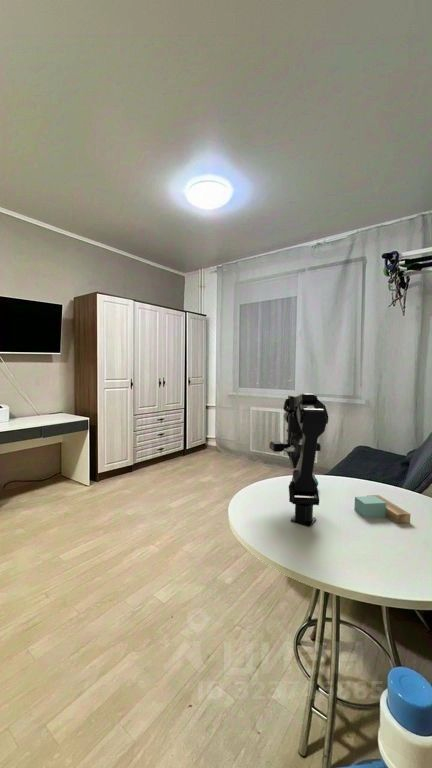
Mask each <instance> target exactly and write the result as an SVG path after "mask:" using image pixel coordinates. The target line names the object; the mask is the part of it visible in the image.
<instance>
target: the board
mask: <svg viewBox="0 0 432 768" xmlns="http://www.w3.org/2000/svg"><path fill="white" fill-rule="evenodd" d="M367 496H376V497H378V498H379V499H381V500H383V501H384V502H386V517H385V518H388V519H389V520H391V522H394V524H396V525H397V524H410V523H411V513H409V512H408V511H406V510H405V509H403V508H401V507H400V506H398V505H396V504H395V503H393V502H391V501H389V500H388V499H387V498H385V497H383V496H381V495H379V494H374V495H370V494H369V495H367Z"/></svg>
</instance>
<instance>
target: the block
mask: <svg viewBox="0 0 432 768" xmlns="http://www.w3.org/2000/svg"><path fill="white" fill-rule="evenodd" d="M353 509H354V511H355V512H357V514H359V515H360V516H361V517H363V518H364V519H365V518H387V517H386V502H384V501H383V500H381V499H379V498H378V497H376V496H368V495H364V496H355V497H354V508H353Z"/></svg>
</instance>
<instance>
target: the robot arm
mask: <svg viewBox="0 0 432 768" xmlns="http://www.w3.org/2000/svg"><path fill="white" fill-rule="evenodd" d="M308 407H313V408H308ZM282 408H283V409H282V410H283V411H284V412H285V413H284V415H283V419H284V421H285V422H286V423H287V428H286V433H287V439H286V441H285V443H283V442H281V441H279V440H277V441H276V440H272V441H270V442H269V446H268V448H269V449H270V450H271V451H272V452H273V453H274V452H275V453H278V452H286V454H287V455H288V458H289V461H290V463H291V466H292V469H293V471H292V477H291V481H290V482H289V485H288V494H289V495H288V497H289V502H290V503H291V504H292V505H294V516H293V517H291V518H290V521H291V522H294V523H296V524H299V525H303V526H306V527H311V526H312V525H313V523H315V522H316V521H317V518H316V517H314V516H313V514H314V511H313V510H314V506H320V496H319V495H320V494H319V490H318V486H317V484H316V482H315V479H314V476H313V474H314V466H315V461H316V455H317V452H320V451H321V449H322V446H321V444H320V443H319V442H318V440H319V438H320V436H322V434H324V432H325V431H326V427H327V425H328V423H329V414H328V411H327V407H326V405H325V404H324V403H323V402H322V401H320V400H319V399H318V396H317V394H316V393H310V392H309V393H300V394H298V395H293V394H292V395H291V394H290V395H289V394H288V395H287V397H286V399H285V400H284V402H283V407H282ZM297 466H298V469H297Z"/></svg>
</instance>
